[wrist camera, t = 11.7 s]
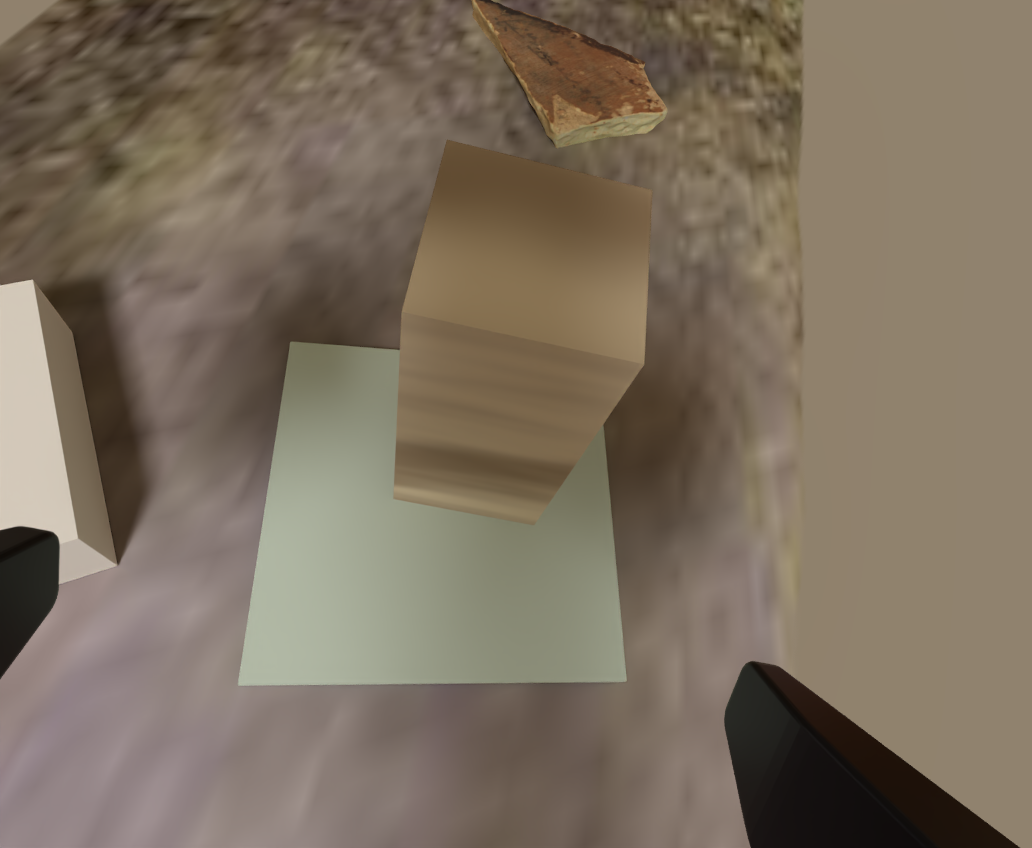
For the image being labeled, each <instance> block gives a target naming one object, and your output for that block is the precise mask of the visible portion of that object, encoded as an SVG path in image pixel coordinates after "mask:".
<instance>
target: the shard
mask: <svg viewBox="0 0 1032 848" xmlns="http://www.w3.org/2000/svg"><path fill="white" fill-rule="evenodd" d="M472 5H473V10H474V11H473V17H474V19H475V20H476V21H477V22H478V24H479V26H480V27H481V28H482V30H483V32H484V33H485V34H486V36H487V37H488V38H489V39H490V41H491V42H492V43H493V44H494V46H495V47H496V48H497V49H498V51H499V52H500V53H501V55H502V57H503V58H504V60H505V62H506V63H507V64H508V65H509V67H510V70H511V71H512V72H513V73H514V74H515V75H516V76H517V77H518V80H519V82H520V84H521V86H522V87H523V89H524V91H525V93H526V95H527V97H528V100H529V102H530V104H531V105H532V106H533V108H534V109H535V111H536V113H537V115H538V118H539V120H540V121H541V123H542V125H543V127H544V129H545V133H546V135H547V136H548V137H549V138H550V139H551V140H552V141H553V143H554V145H555V147H556V148H559V147H564V146H568V145H572V144H577V143H583V142H587V141H591V140H596V139H600V138H604V137H616V136H628V135H633V134H640V133H648V132H649V131H650V130H652V129H653V128H654V127H655V126H656V125H657V124H659V123H660V122H661V121H662V120H664V118H665V116H666V114H667V108H666V106H665V105H664V103H663V101H662V100H661V99H660V98H659V96H658V95H657V94H656V92H655V90H654V89H653V88H652V87H651V84H650V82H649V81H648V78H647V75H646V74H645V71H644V69H643V68H644V66H645V62H643V61H641V60H639V59H636V58H634V57H633V56H632V55H629V54H626V53H624V52H622V51H620V50H619V49H616V48H614V47H611V46H608V45H603V44H600V43H598V42H597V41H596V40H594V39H592V38H590V37H587V36H586V35H583V34H580V33H577V32H575V31H573V30H571V29H569V28H566V27H564V26H561V25H557V24H555V23H553V22H550V21H546V20H543V19H541V18H539V17H536V16H532V15H529V14H526V13H524V12H521V11H517V10H513V9H511V8H508V7H505V6H503V5H501V4H499V3H496V2H493V1H491V0H472Z"/></svg>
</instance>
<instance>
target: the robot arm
mask: <svg viewBox="0 0 1032 848" xmlns="http://www.w3.org/2000/svg"><path fill="white" fill-rule="evenodd" d="M59 559H60V543H59V539H58V536H57V535H56V534H55V533H54V532H52V531H47V530H42V529H37V528H31V527H26V526H16V527H11V528H7V529H3V530H0V679H1V677H2V676H3V675H4V673H5V672H6V671H7V669H8V668H9V667H10V665H11V664H12V662H13V661H14V660H15V658H16V657H17V656H18V654H19V653H20V652H21V650H22V649H23V648H24V646H25V645H26V643H27V642H28V641H29V639H30V638H31V637H32V635H33V634H34V633H35V631H36V630H37V629H38V627H39V626H40V624H41V623H42V622H43V620H44V619H45V618H46V616H47V615H48V614H49V612H50V611H51V609H52V608H53V606H54V604H55V601H56V599H57V595H58V591H59ZM724 723H725V731H726V736H727V740H728V745H729V750H730V755H731V760H732V765H733V770H734V775H735V779H736V784H737V789H738V794H739V799H740V804H741V809H742V813H743V818H744V823H745V827H746V831H747V836H748V840H749V843H750V847H751V848H1020V847H1018V846H1017V845H1016V844H1014V843H1013V842H1012V841H1010V840H1009V839H1008V838H1006V837H1005V836H1004V835H1002V834H1001V833H1000V832H998V831H997V830H996V829H994V828H993V827H992V826H990V825H989V824H988V823H986V822H985V821H984V820H982V819H981V818H980V817H978V816H977V815H976V814H974V813H973V812H972V811H970V810H969V809H968V808H967V807H965V806H964V805H963V804H961V803H960V802H958V801H957V800H956V799H955V798H953V797H952V796H951V795H949V794H948V793H947V792H945V791H944V790H942V789H941V788H940V787H938V786H937V785H936V784H935V783H933V782H932V781H930V780H929V779H928V778H926V777H925V776H924V775H923V774H921V773H920V772H919V771H917V770H916V769H915V768H913V767H912V766H911V765H909V764H908V763H907V762H905V761H904V760H903V759H901V758H900V757H899V756H897V755H896V754H895V753H893V752H892V751H891V750H889V749H888V748H887V747H885V746H884V745H882V743H880V742H879V741H878V740H876V739H875V738H874V737H872V736H871V735H869V734H868V733H867V732H866V731H864V730H863V729H861V728H860V727H859V726H858V725H856V724H855V723H854V722H852V721H851V720H850V719H848V718H847V717H846V716H844V715H843V714H842V713H840V712H839V711H838V710H836V709H835V708H834V707H832V706H831V705H830V704H828V703H827V702H826V701H824V700H823V699H822V698H820V697H819V696H818V695H816V694H815V693H814V692H812V691H811V690H810V689H808V688H807V687H806V686H804V685H803V684H802V683H800V682H799V681H798V680H796V679H795V678H794V677H792V676H791V675H790V674H789V673H787V672H786V671H785V670H783V669H782V668H780V667H779V666H776V665H772V664H766V663H761V662H755V661H751V662H748V663H746V664H745V665H744V667H743V668H742V670H741V672H740V675H739V677H738V680H737V682H736V685H735V687H734V690H733V692H732V694H731V697H730V699H729V702H728V704H727V707H726V711H725V718H724Z"/></svg>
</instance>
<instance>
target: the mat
mask: <svg viewBox="0 0 1032 848" xmlns="http://www.w3.org/2000/svg"><path fill="white" fill-rule="evenodd" d="M399 360H400V350H393V349H380V348H368V347H355V346H342V345H329V344H316V343H303V342H290V348H289V354H288V361H287V367H286V374H285V381H284V387H283V394H282V400H281V407H280V413H279V420H278V426H277V433H276V439H275V446H274V452H273V459H272V465H271V472H270V478H269V485H268V492H267V498H266V505H265V511H264V518H263V524H262V531H261V537H260V544H259V550H258V557H257V563H256V570H255V576H254V583H253V589H252V596H251V603H250V609H249V616H248V622H247V629H246V635H245V642H244V648H243V655H242V661H241V668H240V674H239V681H238V685H239V686H262V685H370V684H477V683H585V682H626V681H627V678H626V667H625V656H624V645H623V634H622V623H621V612H620V601H619V590H618V579H617V568H616V557H615V546H614V535H613V524H612V513H611V502H610V491H609V480H608V469H607V458H606V447H605V436H604V425H602V427H601V428H600V430H599V431H598V433H597V434H596V436H595V437H594V439H593V440H592V441H591V443H590V444H589V446H588V447H587V449H586V450H585V452H584V453H583V455H582V456H581V458H580V459H579V460H578V462H577V463H576V465H575V466H574V468H573V469H572V471H571V472H570V474H569V475H568V476H567V478H566V479H565V481H564V482H563V484H562V485H561V487H560V488H559V490H558V491H557V493H556V494H555V495H554V497H553V498H552V500H551V501H550V503H549V504H548V506H547V507H546V509H545V510H544V512H543V513H542V514H541V516H540V517H539V519H538V520H537V522H536V523H535V525H530V524H524V523H519V522H514V521H508V520H503V519H497V518H492V517H487V516H481V515H476V514H471V513H465V512H460V511H455V510H449V509H444V508H439V507H433V506H428V505H423V504H417V503H412V502H407V501H401V500H396V499H393V495H394V472H395V450H396V427H397V405H398V383H399Z"/></svg>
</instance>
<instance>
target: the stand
mask: <svg viewBox="0 0 1032 848" xmlns="http://www.w3.org/2000/svg"><path fill="white" fill-rule="evenodd" d="M16 526H26V527H31V528H37V529H42V530H47V531H52V532H54V533H55V534H56V535H57V536H58V539H59V543H60V559H59V584H62V583H65V582H68V581H71V580H75V579H78V578H81V577H84V576H87V575H90V574H93V573H96V572H100V571H103V570H106V569H109V568H112V567H115V566H118V565H117V560H116V554H115V549H114V544H113V539H112V534H111V529H110V524H109V518H108V513H107V508H106V503H105V498H104V493H103V487H102V482H101V477H100V472H99V467H98V462H97V456H96V451H95V446H94V441H93V436H92V431H91V426H90V420H89V415H88V410H87V405H86V400H85V395H84V389H83V384H82V379H81V374H80V369H79V364H78V358H77V353H76V348H75V343H74V338H73V333H72V331H71V330H70V328H69V327H68V326H67V324H66V323H65V322H64V320H63V319H62V318H61V316H60V315H59V314H58V312H57V311H56V310H55V308H54V307H53V306H52V304H51V303H50V302H49V300H48V299H47V298H46V296H45V295H44V294H43V292H42V291H41V290H40V288H39V287H38V286H37V284H36V283H35V282H34V280H28V281H23V282H17V283H12V284H6V285H1V286H0V530H3V529H7V528H11V527H16Z"/></svg>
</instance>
